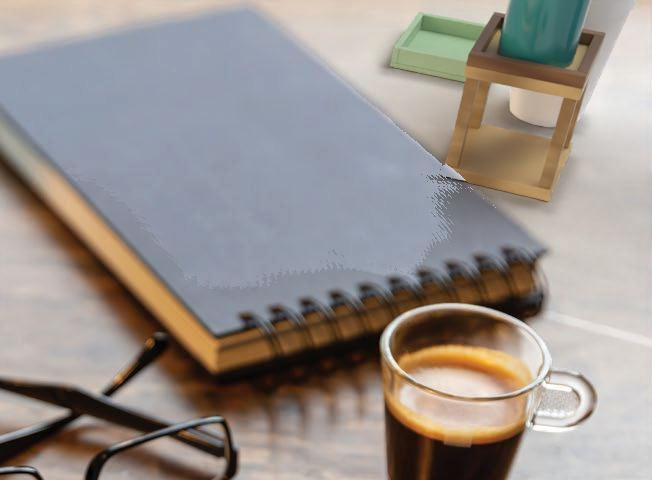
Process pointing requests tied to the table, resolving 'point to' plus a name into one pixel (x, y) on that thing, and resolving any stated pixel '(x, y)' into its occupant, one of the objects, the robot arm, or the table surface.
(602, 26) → the foam cup
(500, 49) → the teal rounded block
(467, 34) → the tray
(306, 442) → the table surface
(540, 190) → the stand
